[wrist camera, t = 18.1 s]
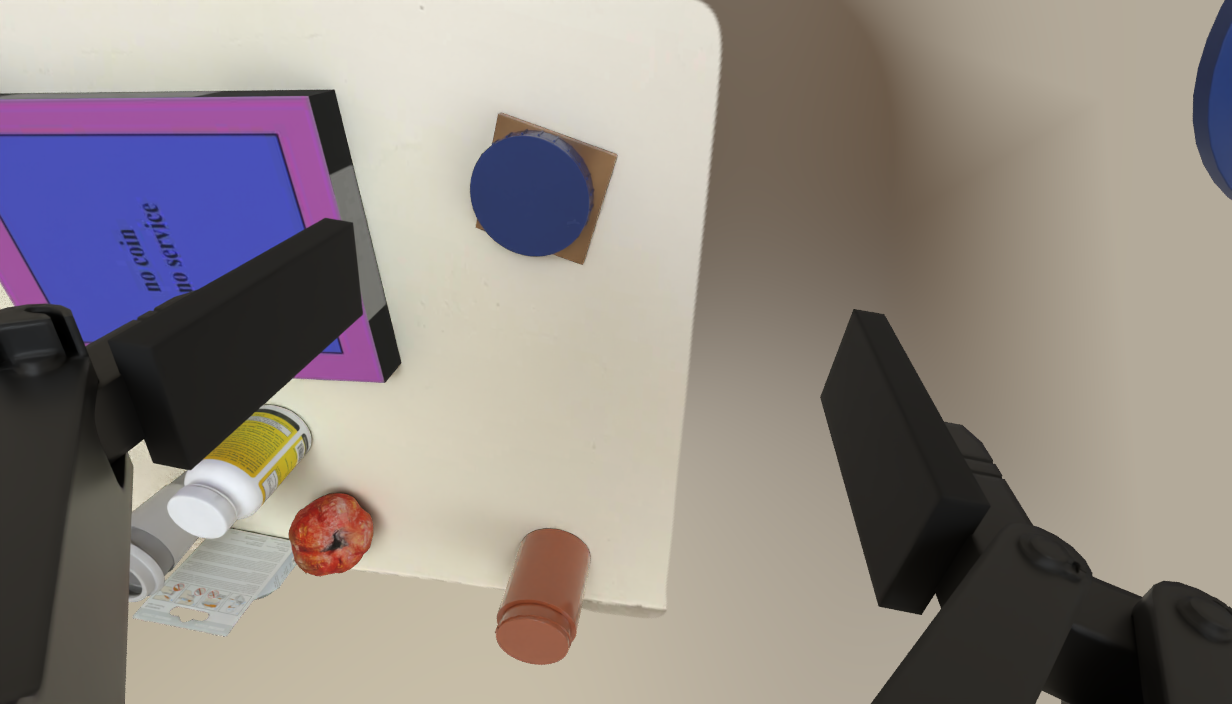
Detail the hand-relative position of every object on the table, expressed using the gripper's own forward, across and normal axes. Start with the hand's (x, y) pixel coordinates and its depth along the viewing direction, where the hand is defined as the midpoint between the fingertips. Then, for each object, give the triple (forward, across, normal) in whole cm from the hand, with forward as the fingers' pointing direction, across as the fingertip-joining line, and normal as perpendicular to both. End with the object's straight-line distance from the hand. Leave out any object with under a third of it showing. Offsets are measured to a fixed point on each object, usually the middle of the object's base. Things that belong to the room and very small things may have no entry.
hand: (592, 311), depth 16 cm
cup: (+25, -39, -40) cm, 61 cm away
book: (+25, -35, -13) cm, 45 cm away
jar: (+26, -4, -41) cm, 49 cm away
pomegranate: (+26, -25, -40) cm, 54 cm away
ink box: (+26, -36, -48) cm, 65 cm away
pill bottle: (+26, -30, -31) cm, 51 cm away
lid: (+24, -8, -5) cm, 25 cm away
